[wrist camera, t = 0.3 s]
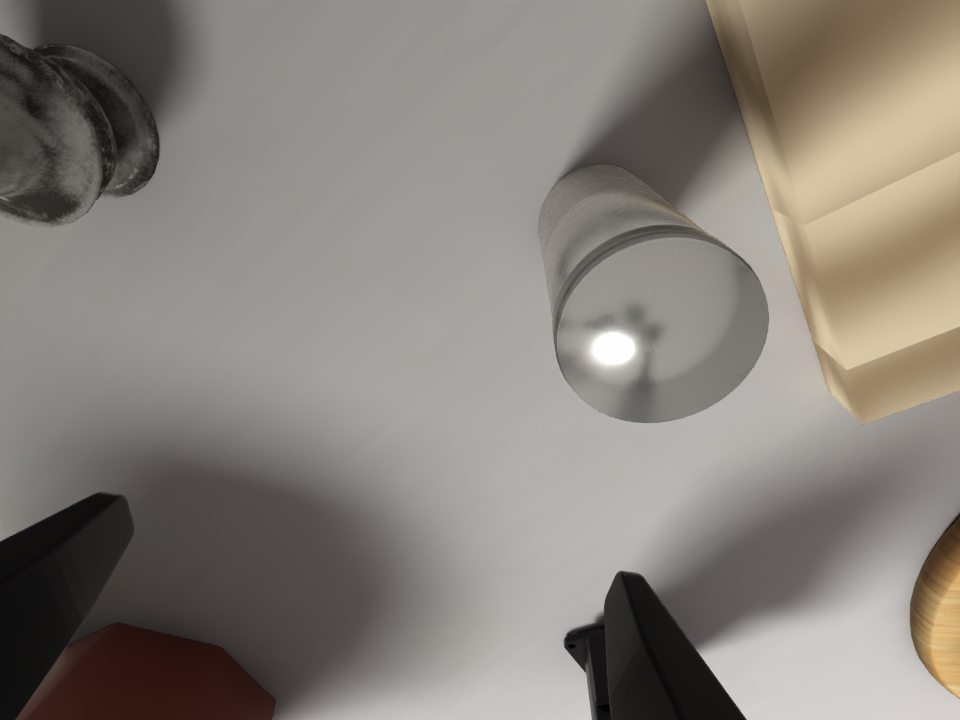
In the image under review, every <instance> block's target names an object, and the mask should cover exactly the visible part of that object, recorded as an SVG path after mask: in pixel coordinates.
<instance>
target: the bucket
mask: <svg viewBox="0 0 960 720" xmlns="http://www.w3.org/2000/svg"><path fill="white" fill-rule="evenodd" d="M275 702H276V700H275V699H274V698H273V697H272V696H271V695H270V694H269V693H268V692H267V691H266V690H265V689H264V688H263V687H262V686H261V685H260V684H259V683H258V682H257V681H256V680H255V679H254V678H252V677H251V676H250V675H249V674H248V673H247V672H246V671H245V670H244V669H243V668H242V667H241V666H240V665H239V664H238V663H237V662H236V661H235V660H234V659H233V658H232V657H231V656H230V655H229V654H228V653H227V652H226V651H225V650H224V649H223V648H222V647H219V646H215V645H210V644H206V643H202V642H198V641H193V640H189V639H185V638H181V637H176V636H172V635H168V634H164V633H159V632H155V631H151V630H147V629H142V628H138V627H134V626H130V625H125V624H121V623H117V622H116V623H114V624H112V625H110V626H107V627H105V628H103V629H101V630H99V631H97V632H95V633H93V634H91V635H89V636H86V637H84V638H82V639H80V640H78V641H76V642H74V643H72V644H70V645H68V646H67V647H66V649H65V650H64V652H63V653H62V654H61V656H60V657H59V659H58V660H57V662H56V663H55V664H54V666H53V667H52V669H51V670H50V672H49V673H48V674H47V676H46V677H45V679H44V680H43V682H42V683H41V684H40V686H39V687H38V689H37V690H36V692H35V693H34V694H33V696H32V697H31V699H30V700H29V702H28V703H27V704H26V706H25V707H24V709H23V710H22V712H21V713H20V715H19V716H18V717H17V719H16V720H272V717H273V712H274V707H275Z"/></svg>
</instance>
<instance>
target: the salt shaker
mask: <svg viewBox="0 0 960 720" xmlns="http://www.w3.org/2000/svg"><path fill="white" fill-rule="evenodd" d="M157 161H158V137H157V133H156V129H155V125H154V121H153V119H152V117H151V114H150V112H149V110H148V108H147V106H146V104H145V102H144V100H143V99H142V97H141V96H140V94H139V93H138V92H137V90H136V89H135V88H134V86H133V85H132V83H131V82H130V81H129V80H128V79H127V78H126V77H125V76H124V75H123V74H122V73H121V72H120V71H119V70H118V69H116V68H115V67H114V66H113V65H112V64H111V63H109V62H107V61H106V60H104V59H103V58H101V57H99V56H98V55H96V54H95V53H93V52H90V51H88V50H85V49H82V48H79V47H76V46H73V45H59V44H50V45H46V46H43V47H39V48H36V49H34V50H32V49H29V48H26V47H24V46H22V45H21V44H19V43H17V42H16V41H14V40H12V39H11V38H9V37H8V36H5V35H2V34H0V215H2V216H4V217H5V218H7V219H10V220H14V221H17V222H20V223H23V224H26V225H30V226H41V227H55V226H60V225H64V224H69V223H72V222H74V221H76V220H77V219H79V218H80V217H82V216H83V215H85V214H86V213H88V211H89V210H90V208H91V207H92V206H93V204H94V203H95V201H96V200H97V199H98V198H99V197H110V198H118V197H122V196H127V195H131V194H134V193H135V192H137V191H138V190H140V189H141V188H143V187H144V186H146V184H147V183H148V181H149V180H150V179H151V177H152V176H153V174H154V172H155V168H156V165H157Z"/></svg>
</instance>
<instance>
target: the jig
mask: <svg viewBox="0 0 960 720" xmlns="http://www.w3.org/2000/svg"><path fill="white" fill-rule="evenodd" d="M706 3H707V6H708V10H709V13H710V16H711V19H712V22H713V25H714V29H715V32H716V35H717V38H718V41H719V44H720V48H721V51H722V54H723V57H724V60H725V63H726V66H727V70H728V73H729V76H730V79H731V82H732V85H733V89H734V92H735V95H736V98H737V101H738V104H739V108H740V111H741V114H742V117H743V120H744V123H745V127H746V130H747V133H748V136H749V139H750V142H751V146H752V149H753V152H754V155H755V158H756V161H757V165H758V168H759V171H760V174H761V177H762V180H763V184H764V187H765V190H766V193H767V196H768V199H769V203H770V206H771V209H772V212H773V215H774V218H775V222H776V225H777V228H778V231H779V234H780V237H781V241H782V244H783V247H784V250H785V253H786V256H787V260H788V263H789V266H790V269H791V272H792V275H793V278H794V282H795V285H796V288H797V291H798V294H799V297H800V301H801V304H802V307H803V310H804V313H805V316H806V320H807V323H808V326H809V329H810V332H811V335H812V339H813V342H814V345H815V348H816V351H817V354H818V358H819V361H820V364H821V367H822V370H823V373H824V377H825V380H826V383H827V386H828V389H829V392H830V393H831V394H832V395H833V396H834V397H835V398H836V399H837V400H838V401H839V402H840V403H841V404H842V405H843V406H844V407H845V408H846V409H847V410H848V411H849V412H850V413H851V414H852V415H853V416H854V417H855V418H856V419H857V420H858V421H859V422H860V423H861V424H862V425H863V424H866V423H869V422H872V421H874V420H877V419H880V418H883V417H886V416H889V415H891V414H894V413H897V412H900V411H903V410H906V409H908V408H911V407H914V406H917V405H920V404H923V403H925V402H928V401H931V400H934V399H937V398H940V397H943V396H945V395H948V394H951V393H954V392H957V391H960V0H706Z"/></svg>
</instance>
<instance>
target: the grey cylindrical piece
mask: <svg viewBox="0 0 960 720" xmlns="http://www.w3.org/2000/svg"><path fill="white" fill-rule="evenodd" d="M538 232H539V238H540V245H541V251H542V257H543V263H544V269H545V275H546V282H547V288H548V294H549V300H550V306H551V312H552V318H553V320H552V323H553V338H554V344H555V350H556V357H557V361H558V364H559V367H560V370H561V372H562V374H563V376H564V378H565V379H566V381H567V382H568V384H569V385H570V386H571V388H572V389H573V390H574V392H575V393H576V394H577V395H578V396H579V397H580V398H581V399H582V400H583V401H584V402H586V403H587V404H588V405H589V406H591V407H593V408H594V409H596V410H598V411H599V412H601V413H604V414H606V415H608V416H610V417H614V418H617V419H620V420H625V421H630V422H640V423H658V422H665V421H672V420H676V419H680V418H684V417H687V416H690V415H693V414H696V413H698V412H700V411H702V410H704V409H707V408H708V407H710V406H712V405H714V404H715V403H717V402H719V401H720V400H721V399H723V398H724V397H726V396H727V395H728V394H730V393H731V392H732V391H733V390H734V389H735V388H736V387H737V386H738V385H739V384H740V383H741V382H742V381H743V380H744V379H745V378H746V377H747V375H748V374H749V373H750V371H751V370H752V368H753V367H754V366H755V364H756V362H757V360H758V358H759V356H760V354H761V352H762V349H763V347H764V344H765V341H766V337H767V332H768V323H769V313H768V304H767V300H766V296H765V293H764V291H763V288H762V286H761V283H760V281H759V279H758V277H757V276H756V274H755V273H754V271H753V270H752V268H751V267H750V266H749V265H748V264H747V263H746V262H745V261H744V259H743V258H741V257H740V256H739V255H738V254H736V253H735V252H734V251H733V250H731V249H730V248H729V247H728V246H726V245H725V244H724V243H722V242H721V241H720V240H718V239H717V238H715V237H713V236H711V235H709V234H707V233H706V232H705V231H704V230H702V229H701V228H700V227H699V226H697V225H696V224H695V223H694V222H692V221H691V220H690V219H689V218H687V217H686V216H685V215H684V214H682V213H681V212H680V211H679V210H677V209H676V208H675V207H674V206H672V205H671V204H670V203H669V202H667V201H666V200H665V199H664V198H662V197H661V196H660V195H659V194H657V193H656V192H655V191H654V190H652V189H651V188H650V187H649V186H647V185H646V184H645V183H644V182H643V181H641V180H640V179H639V178H638V177H636V176H635V175H634V174H632V173H631V172H629V171H627V170H625V169H623V168H620V167H618V166H613V165H607V164H597V165H590V166H585V167H583V168H580V169H577V170H575V171H573V172H571V173H570V174H568V175H567V176H565V177H564V178H562V179H561V180H560V181H559V182H558V183H557V184H556V185H555V186H554V187H553V188H552V190H551V191H550V192H549V194H548V195H547V197H546V199H545V201H544V203H543V206H542V208H541V212H540V216H539V223H538Z"/></svg>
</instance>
